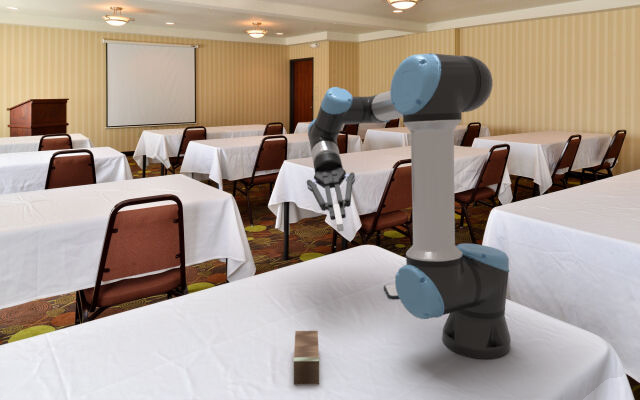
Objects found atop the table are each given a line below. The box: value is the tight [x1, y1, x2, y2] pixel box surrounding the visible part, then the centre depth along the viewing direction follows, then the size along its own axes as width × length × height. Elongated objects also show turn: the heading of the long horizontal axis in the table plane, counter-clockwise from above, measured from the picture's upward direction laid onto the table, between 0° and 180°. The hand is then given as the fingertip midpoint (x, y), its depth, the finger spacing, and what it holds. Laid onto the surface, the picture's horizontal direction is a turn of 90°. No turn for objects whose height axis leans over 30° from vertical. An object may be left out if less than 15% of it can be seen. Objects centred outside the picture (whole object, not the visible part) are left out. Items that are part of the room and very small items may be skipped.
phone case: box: [383, 284, 400, 300], centre depth 145 cm, size 9×2×16 cm
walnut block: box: [293, 330, 320, 385], centre depth 105 cm, size 5×5×13 cm
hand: (340, 227), depth 119 cm, fingers closed
